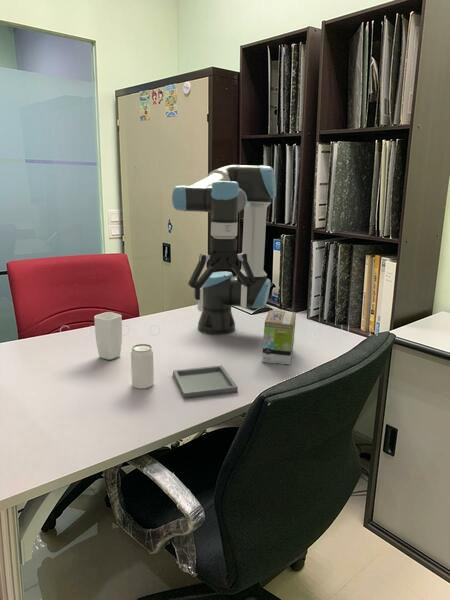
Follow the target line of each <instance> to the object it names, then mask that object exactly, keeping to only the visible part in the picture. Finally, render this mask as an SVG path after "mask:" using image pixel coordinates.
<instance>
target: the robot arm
mask: <svg viewBox="0 0 450 600" xmlns="http://www.w3.org/2000/svg"><path fill="white" fill-rule="evenodd" d="M276 196H277V181H276V175H275V170H274V168H273V167H272V166H269V165H262V164H260V165H255V164H254V165H248V164H246V165H245V164H244V165H243V164H242V165H241V164H230V165H226V166H221V167H219V168H217V169H213V170H212V171H210V172H209V173H208V174H207V176H206V177H204V178H202V179H201V180H199V181H197V182H195V183H193V184H191V185H184V184H183V185H176V186H174V188H173V191H172V195H171V201H172V206H173V208H174V210H176V211H180V212H185V213H186V212H197V213H199V212H201V213H211V215H210V216H211V217H210V218H211V220H210V221H211V223H210V236H211V238H210V253H209V254H204V253H200V254H199V256H198V257H199V259H198V262H197V264H196V266H195V269H194V270H193V272H192V275H191V277H190V279H189V281H188V283H187V284H188V286H189V287H190V288H193V289H194V299H195V300H196V301H197V310H198V311H199V312H200V313H201V314H200V317H199V319H198V323H197V330H199V331H200V332H201V333H204V334H209V335H227V334H230V333H232V332H234V331H235V329H236V323H235V318H234V316H233V312H232V306H233V307H241V308H243V309H247V308H252V309H263V308H264V307H265V305H267V302H268V298H269V294H270V290H271V284H272V283H271V279H269V278H268V274H267V272H266V271H265V270H264V265H265V248H266V246H265V245H266V227H267V212H268V211H267V210H268V207H269V206H270V205H271V204H272V199H276ZM242 211H243V225H242V226H243V229H242V232H243V233H242V251H241V252H240V253H237V251H238V250H237V248H238V238H237V236H238V226H239V225H238V218H239V213H240V212H242ZM208 260H209V261H210V263H209V265H208V266H207V268H206V270H204V267H205V265H206V263H208ZM237 260H238V261H240V262H241V268H240V269H239V266H237V264H236V262H237ZM230 269H231V270H232V271H233V272H234V274H236V276H234V274H233V273H232V272H231V271H224V270H230ZM203 270H204V272H203ZM217 270H219V271H217ZM221 270H222V271H221ZM202 272H203V273H202ZM201 273H202V274H201Z"/></svg>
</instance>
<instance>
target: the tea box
mask: <svg viewBox="0 0 450 600" xmlns="http://www.w3.org/2000/svg"><path fill="white" fill-rule="evenodd" d="M296 317H297V313H296V312H293V311H283V310H282V311H281V310H273V309H271V310H269V311H268V313H267V315H266V318H265V320H264V328H263V341H262V355H261V362H262V363H267V364H268V363H269V364H275V363H279V364H278V365H284V364H289V365H291V362H292V356H293V351H294V342H295V330H296V319H297V318H296Z"/></svg>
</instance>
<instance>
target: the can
mask: <svg viewBox="0 0 450 600" xmlns="http://www.w3.org/2000/svg"><path fill="white" fill-rule="evenodd" d="M130 366H131V367H130V370H131V372H130V373H131V386H132V387H133V388H134V389H138V390H147V389H149V388H151V387H153V385H154V384H155V383H154V381H155V379H154V374H155V373H154V352H153V349H152V345H150V344H145V343H140V344H139V343H137V344H135V345H133V346H132V348H131V352H130Z"/></svg>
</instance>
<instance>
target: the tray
mask: <svg viewBox="0 0 450 600" xmlns="http://www.w3.org/2000/svg"><path fill="white" fill-rule="evenodd" d="M172 377H173V378H174V381H175V383H176V386H177V388H178V390H179V392H180V394H181V395H182V397H183V400H188V399H196V398H197V399H198V398H205V397H212V396H220V395H221V396H222V395H228V394H229V395H230V394H238V390H239V388H238V387H239V386H238V385H237V384H236V383H235V381H234V380H233V378H232V377H231V376H230V375H229V373H228V372H227V370H226V369H225V368H224V367H223V365H214V366H203V367H194V368H185V369H174V370H173V371H172Z"/></svg>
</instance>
